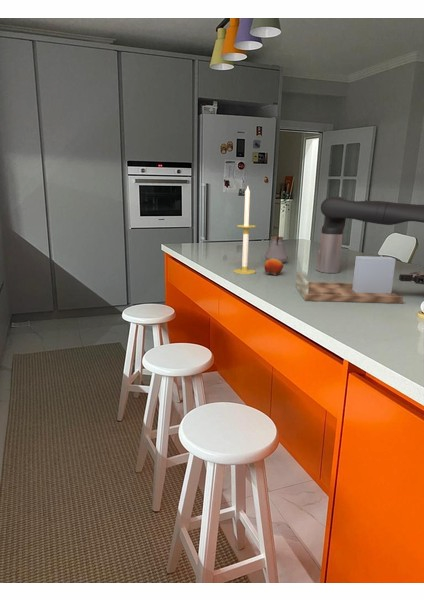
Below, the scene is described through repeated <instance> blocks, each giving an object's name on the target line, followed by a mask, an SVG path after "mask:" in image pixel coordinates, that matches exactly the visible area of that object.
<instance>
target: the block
mask: <svg viewBox="0 0 424 600" xmlns="http://www.w3.org/2000/svg"><path fill="white" fill-rule="evenodd" d="M354 262H355V263H354V270H353V271H354V272H353V278H352V279H353V280H352V283H353V288H352V289H353V290H354V291H355V292H356V293H391V292H392V291H393V290H392V289H393V284H394V273H395V267H396V258H395V257H390V256H369V255H368V256H367V255H361V256H359V255H358V256H355V261H354Z"/></svg>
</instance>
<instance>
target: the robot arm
mask: <svg viewBox="0 0 424 600" xmlns="http://www.w3.org/2000/svg"><path fill="white" fill-rule="evenodd" d="M320 212H321V213H322V214H323V216H325V217H324V218H325V219H324V223H323V225H322V227H321V233H320V245H319V246H320V247H319V249H318V250H317V256H316V257H317V259H316V269H315V270H316V271H317V272H321V273H326V274H337V273H340V266H341V265H340V264H341V255H342V253H341V252H342V245H343V234H344V229H345V225H346V221H347V219H350V220H351V219H352V220H355V221H360V222H364V223H370V224H371V223H372V224H378V225H385V226H392V225H398V224H402V223H407V222H415V223H416V222H417V223H424V204H415V203H414V204H413V203H403V202H402V203H400V202H392V201H383V200H360V201H359V200H356V201H355V200H348V199H344V197H341V196H329V197H327V198H325V199H324V200H323V201H322V203H321V205H320ZM398 280H399V281H400V282H411V283H415V284H416V285H417V284H419V285H424V272H421V271H415V272H410V273H409V274H407V273H406V274H405V273H400V274H399V275H398Z"/></svg>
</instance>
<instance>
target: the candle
mask: <svg viewBox="0 0 424 600" xmlns="http://www.w3.org/2000/svg"><path fill="white" fill-rule="evenodd" d="M250 204H251V190H250V188H249V185H247V187H246V189H245V191H244V209H243V211H244V212H243V213H244V216H243V217H244V218H243V224H238V225H237V224H236V227H237V228H243V229H242V231H243V233H242V255H241V256H242V257H241V268H238V269H237V268H236V269H234V270H233V271H232V272H233V273H235V274H238V275H252V274H256V271H255V270H254V269H250V268H249V267H248V265H249V264H248V263H249V241H250V240H249V239H250V237H249V236H250V228H254V229H255V228H256V227H257V226H256V225H253V224H250V206H251V205H250Z"/></svg>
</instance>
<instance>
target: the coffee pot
mask: <svg viewBox="0 0 424 600" xmlns="http://www.w3.org/2000/svg"><path fill="white" fill-rule="evenodd" d="M269 237H270V241H271V242H270V244H269V246H268V249H267V251H266V252H265V255H264V259H265V261H267V260H270V259H277V260H279V261H281V262H282V264H283V265H284V263H285V262H286V261H287V260H288V254H287V252H286V249H285V246H284V243H283V240H284V236H279V235H277V236H269Z"/></svg>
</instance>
